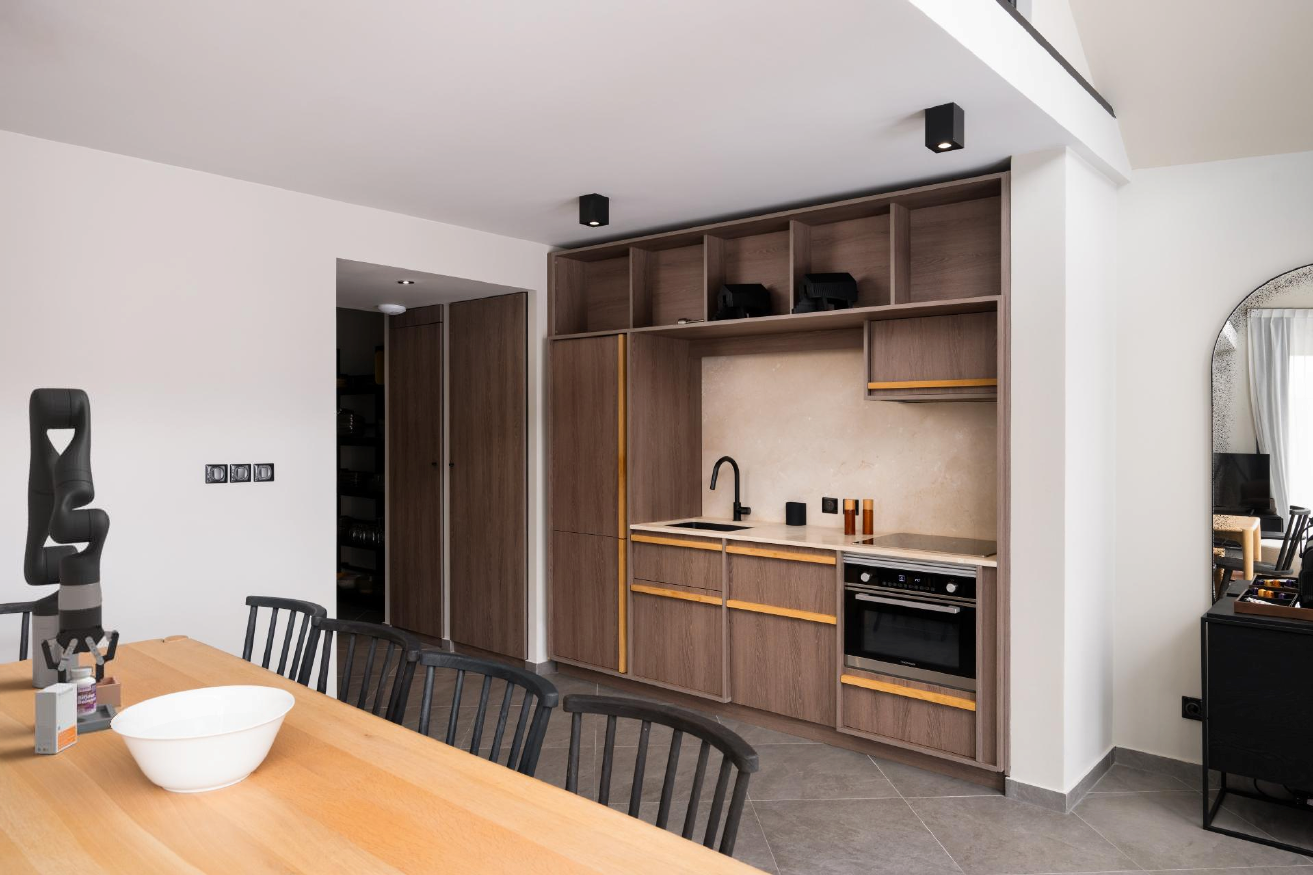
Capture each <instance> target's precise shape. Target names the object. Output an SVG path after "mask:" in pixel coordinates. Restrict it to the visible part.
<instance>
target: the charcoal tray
mask: <svg viewBox="0 0 1313 875" xmlns="http://www.w3.org/2000/svg"><path fill="white" fill-rule="evenodd" d="M116 715H118V713H117V711H116V708H115V707H113V704H112V702H111V703H105V704H99V705H96V711H95V712H94V713H93V714H91V715H88V716H84V717H78V718H77V736H78V735H84V734H89V733H93V732H94V733H95V732H99V731H104V730H109V729H110V730H111V729H112V728H111V725H110V723H111V720H112V719H113V718H114V717H115V716H116Z"/></svg>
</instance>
